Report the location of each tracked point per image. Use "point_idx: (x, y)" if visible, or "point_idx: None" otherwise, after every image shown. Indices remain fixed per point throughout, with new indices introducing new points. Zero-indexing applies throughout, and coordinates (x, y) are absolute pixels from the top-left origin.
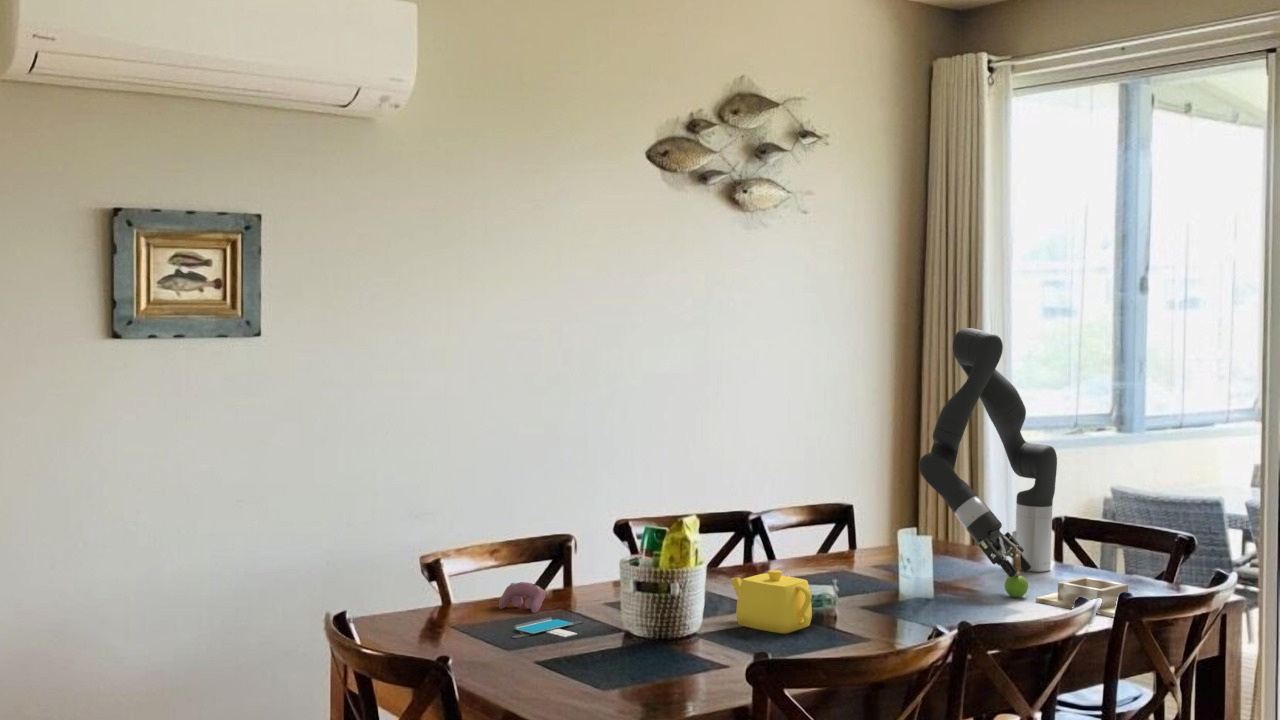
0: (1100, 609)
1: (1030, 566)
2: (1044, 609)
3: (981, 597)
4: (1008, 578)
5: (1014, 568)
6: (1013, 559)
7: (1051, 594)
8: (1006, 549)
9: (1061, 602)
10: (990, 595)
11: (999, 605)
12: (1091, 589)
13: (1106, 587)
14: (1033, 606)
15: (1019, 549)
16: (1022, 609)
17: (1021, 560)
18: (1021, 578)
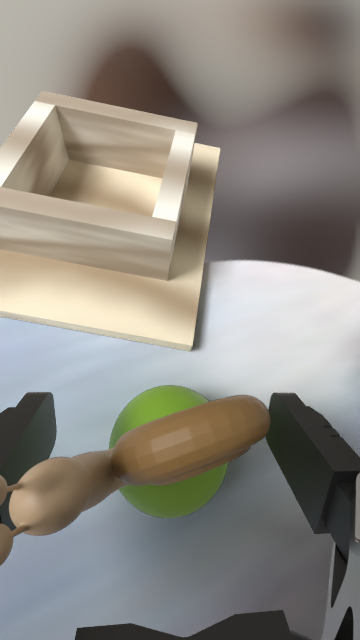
0: (206, 173)
1: (43, 393)
2: (272, 293)
3: (291, 584)
4: (210, 483)
5: (294, 405)
6: (246, 449)
7: (94, 322)
8: (217, 631)
9: (202, 260)
10: (215, 572)
11: (351, 429)
12: (191, 148)
13: (44, 151)
14: (262, 331)
15: (10, 490)
16: (330, 342)
17: (18, 471)
18: (190, 403)
